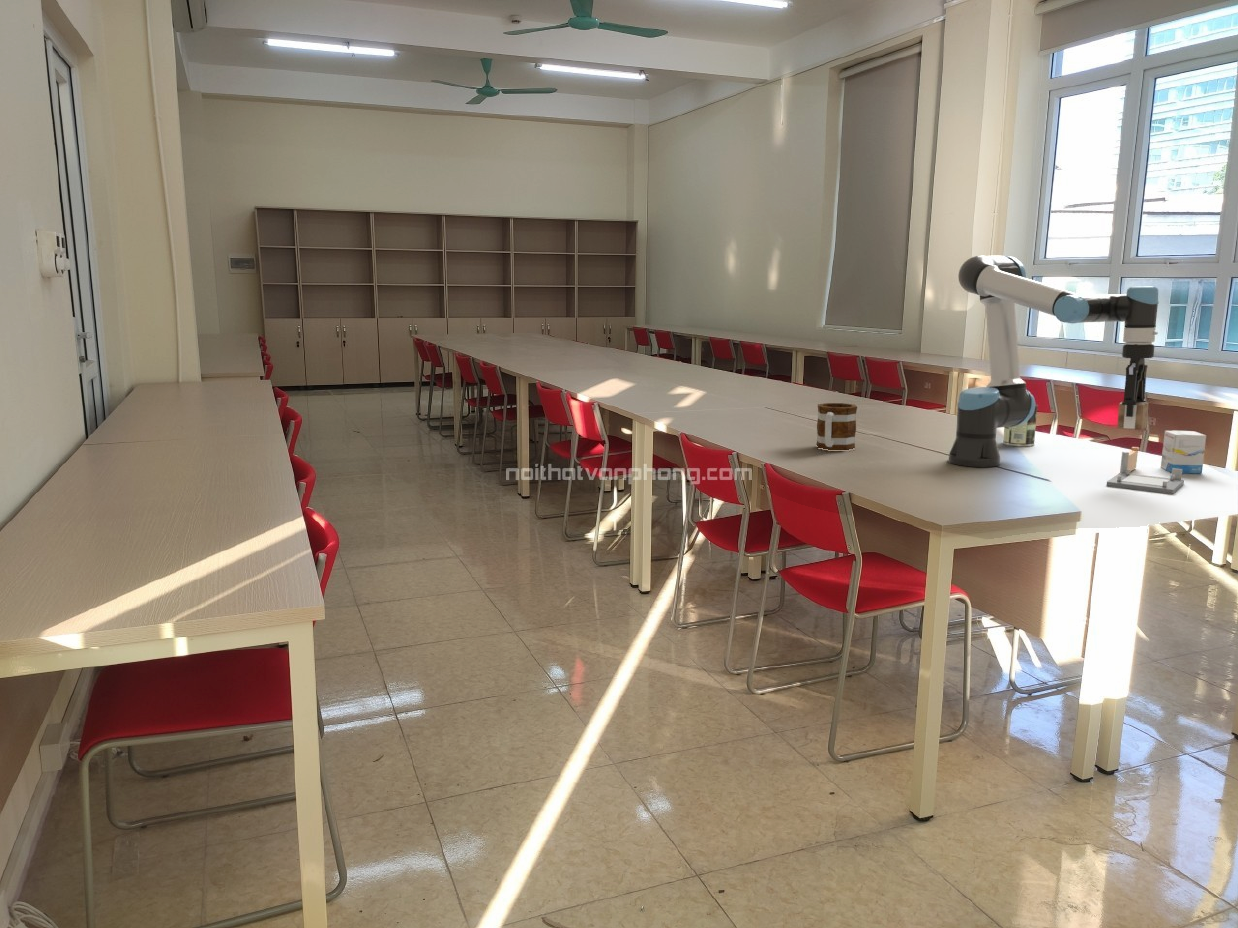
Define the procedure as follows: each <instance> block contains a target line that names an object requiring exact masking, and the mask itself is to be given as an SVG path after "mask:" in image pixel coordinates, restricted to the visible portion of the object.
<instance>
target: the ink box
mask: <svg viewBox="0 0 1238 928" xmlns="http://www.w3.org/2000/svg"><path fill="white" fill-rule="evenodd" d="M1206 441H1207V435H1206V434H1203V433H1200V432H1197V431H1193V430H1164V436H1163V445H1162V453H1161V461H1160V468H1161V469H1163V470H1165V471H1167V472H1169V473H1171V474H1172V468H1174V469H1182V474H1200V473H1202V474H1203V467H1204V466H1203V465H1204V458H1205V448H1206V443H1207V442H1206Z"/></svg>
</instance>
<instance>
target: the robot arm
mask: <svg viewBox="0 0 1238 928" xmlns="http://www.w3.org/2000/svg"><path fill="white" fill-rule="evenodd" d="M957 276H958V282H959V284H960V286H961V287H962V289H963V290H964V291H966V292H967V293H969V294H970V293H971V294H974V295H978V296H979V302H980V303H981V304H983V305H984V306H985V314H986V315H985V316H986V328H987V329H986V331H987V343H988V358H989V367H990V368H989V369H990V382H989V383H988V384H987V385H986V386H980V387H979V386H978V387H971V388H966V389H964V390H962V391H960V392H959V394H958V395H959V396H958V401H957V413H956V415H957V417H956V431H955V432H956V434H955V439H954V442H953V444H952V446H951V449H950V451H949V453H948V462H949V463H950V464H953V465H956V466H957V465H958V466H963V467H972V468H973V467H974V468H991V467H992V468H993V467H997V466H1000V464H1001V454H1000V452H999V448H998V444H997V443H998V442H997V440H996V439H997V429H998V428H999V429H1000V428H1004V427H1014V426H1017V425H1021V424H1024V423H1026V422H1027V421H1028V420H1029V419H1030V418H1031V417H1032V415H1033V413H1034V410H1035V404H1036V400H1035V397H1034V395H1033V394H1032V393H1031V391H1029V390H1027V383H1026V381H1025V380H1023V379H1022V378H1021V373H1020V372H1021V370H1020V360H1019V359H1020V358H1019V344H1018V330H1017V316H1016V315H1017V314H1016V305H1020V306H1022V307H1025V308H1029V309H1032V310H1036V311H1038V312H1042V313H1045V314H1048V315H1050V316H1053V317H1056V319H1057V320H1058V321H1060V322H1061V323H1065V324H1066V323H1067V324H1078V323H1080V324H1081V323H1102V322H1103V323H1105V322H1106V323H1107V322H1109V323H1110V322H1112V323H1113V322H1121V323H1122V322H1124V327H1123V328H1124V329H1123V335H1122V336H1123V338H1122V342H1123V343H1124V344H1123V345H1122V353H1121V357H1122V358H1124V359H1129V364H1127V365H1126V368H1125V382H1124V392H1123V393H1124V394H1123V401H1121V402H1122V405H1125V414H1124V427H1123V428H1128V429H1127V430H1134V429H1135V423H1136V410H1137V405H1136V402H1146V403H1147V399H1146V382H1147V371H1148V367H1149V366H1148V364H1145V363H1146V361H1145V359H1153V358H1154V356H1155V354H1154V353H1155V345H1154V344H1152V343H1154V342H1155V341H1156V336H1157V335H1158V333H1159V332H1158V331H1157V330H1156V327H1157V318H1158V317H1157V316H1158V315H1157V314H1158V308H1159V307H1158V306H1159V303H1160V301H1159V288H1158V287H1157V286H1153V285H1151V286H1150V285H1149V286H1148V285H1147V286H1144V285H1143V286H1129V287H1128V288H1127V290H1126V293H1123V294H1079V293H1076V292H1072V291H1070V290H1069V291H1068V290H1066V289H1062V288H1059V287H1057V286H1054V285H1053V286H1052V285H1049V284H1046V283H1043V282H1039V281H1035V280H1033V279H1029V278H1027V273H1026V268H1025V266H1024V264H1023V263H1022V261H1020V260H1019V259H1017V258H1016V257H1014V256H1008V255H976V256H972V257H970V258H968V259H967V260H965V261H964V262H963V264H962V265H961V266H960V269H959V271H958V275H957Z"/></svg>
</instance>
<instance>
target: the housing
mask: <svg viewBox="0 0 1238 928" xmlns="http://www.w3.org/2000/svg"><path fill="white" fill-rule="evenodd" d="M1129 452H1130V451H1129ZM1129 452H1128V451H1122V452H1121V460H1120V468H1119V473H1118V474H1116V475H1114V476H1113V477H1112V478H1110V479H1109V480H1107V481H1106V486H1107V487H1114V488H1121V489H1128V490H1129V489H1130V490H1136V491H1142V492H1143V491H1145V492H1153V493H1160V494H1168V495H1174V494H1175V493H1176V492H1177V491H1178V490H1179V489H1180V488H1182V486H1183V485H1184V484H1185V479H1182V475H1183V473H1182V469H1174V468H1172V473H1171V474H1170V477H1162V476H1154V475H1153V476H1152V475H1144V474H1143V475H1142V474H1136V473H1131V472H1132V471H1131V470H1127V468H1128V459H1129ZM1130 471H1131V472H1130Z"/></svg>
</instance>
